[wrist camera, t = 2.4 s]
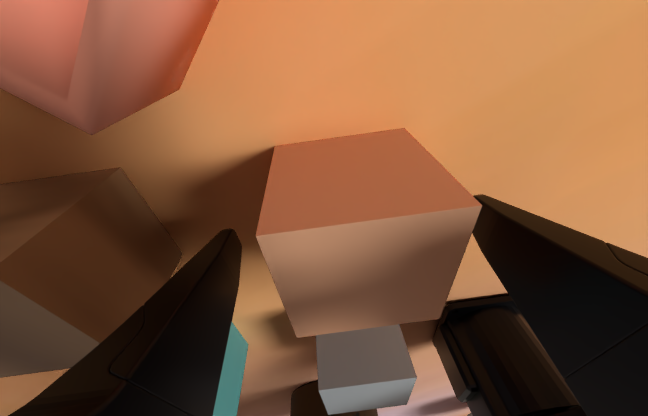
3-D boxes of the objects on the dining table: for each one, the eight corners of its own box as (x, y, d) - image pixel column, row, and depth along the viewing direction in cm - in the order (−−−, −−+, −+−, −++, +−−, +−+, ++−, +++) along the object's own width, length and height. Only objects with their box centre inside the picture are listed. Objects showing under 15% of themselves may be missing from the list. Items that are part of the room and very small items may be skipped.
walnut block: (121, 166, 9) (-12, 272, 5) (183, 252, 12) (127, 360, 8) (-5, 184, 9) (-234, 302, 5) (88, 265, 12) (-13, 379, 8)
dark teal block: (225, 311, 16) (200, 405, 12) (248, 343, 19) (234, 427, 15) (152, 321, 16) (103, 418, 12) (187, 351, 19) (157, 437, 15)
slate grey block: (387, 289, 16) (417, 377, 12) (384, 325, 19) (406, 404, 15) (314, 299, 16) (318, 390, 12) (322, 333, 19) (328, 414, 15)
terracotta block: (403, 127, 9) (482, 205, 5) (394, 223, 12) (439, 318, 8) (275, 145, 9) (255, 235, 5) (298, 236, 12) (296, 337, 8)
